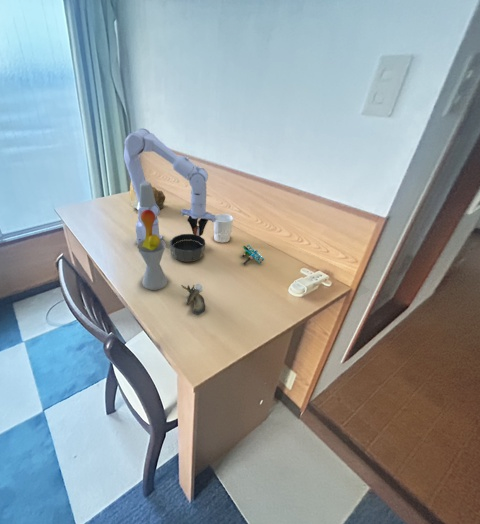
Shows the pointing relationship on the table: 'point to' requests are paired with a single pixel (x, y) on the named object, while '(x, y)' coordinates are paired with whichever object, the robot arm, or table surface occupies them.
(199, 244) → the black cooking pot
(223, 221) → the white cup
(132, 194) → the rough brown rock
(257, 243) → the table surface
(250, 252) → the stick construction toy
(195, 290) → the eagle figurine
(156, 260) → the lava lamp
